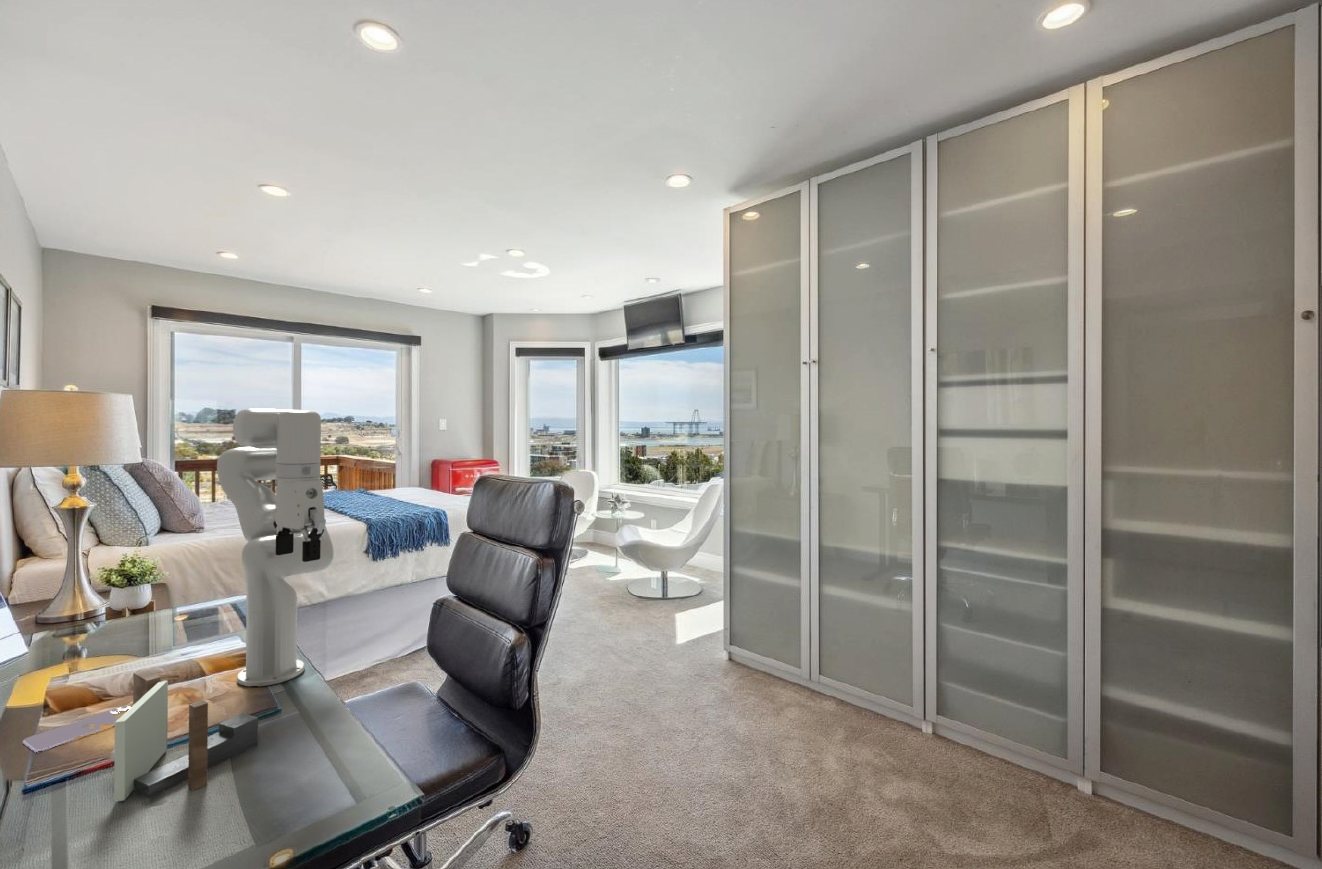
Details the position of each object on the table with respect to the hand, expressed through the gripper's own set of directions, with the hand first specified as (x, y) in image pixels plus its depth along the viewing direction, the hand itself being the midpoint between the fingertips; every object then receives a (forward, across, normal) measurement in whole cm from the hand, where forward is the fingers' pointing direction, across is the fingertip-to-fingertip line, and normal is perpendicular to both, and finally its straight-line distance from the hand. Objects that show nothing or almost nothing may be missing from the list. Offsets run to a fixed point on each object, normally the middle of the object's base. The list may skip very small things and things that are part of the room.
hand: (297, 557), depth 116 cm
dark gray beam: (+30, -8, +19) cm, 37 cm away
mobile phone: (+31, +24, +25) cm, 46 cm away
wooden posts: (+30, -2, +22) cm, 37 cm away
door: (+30, -2, +25) cm, 39 cm away
